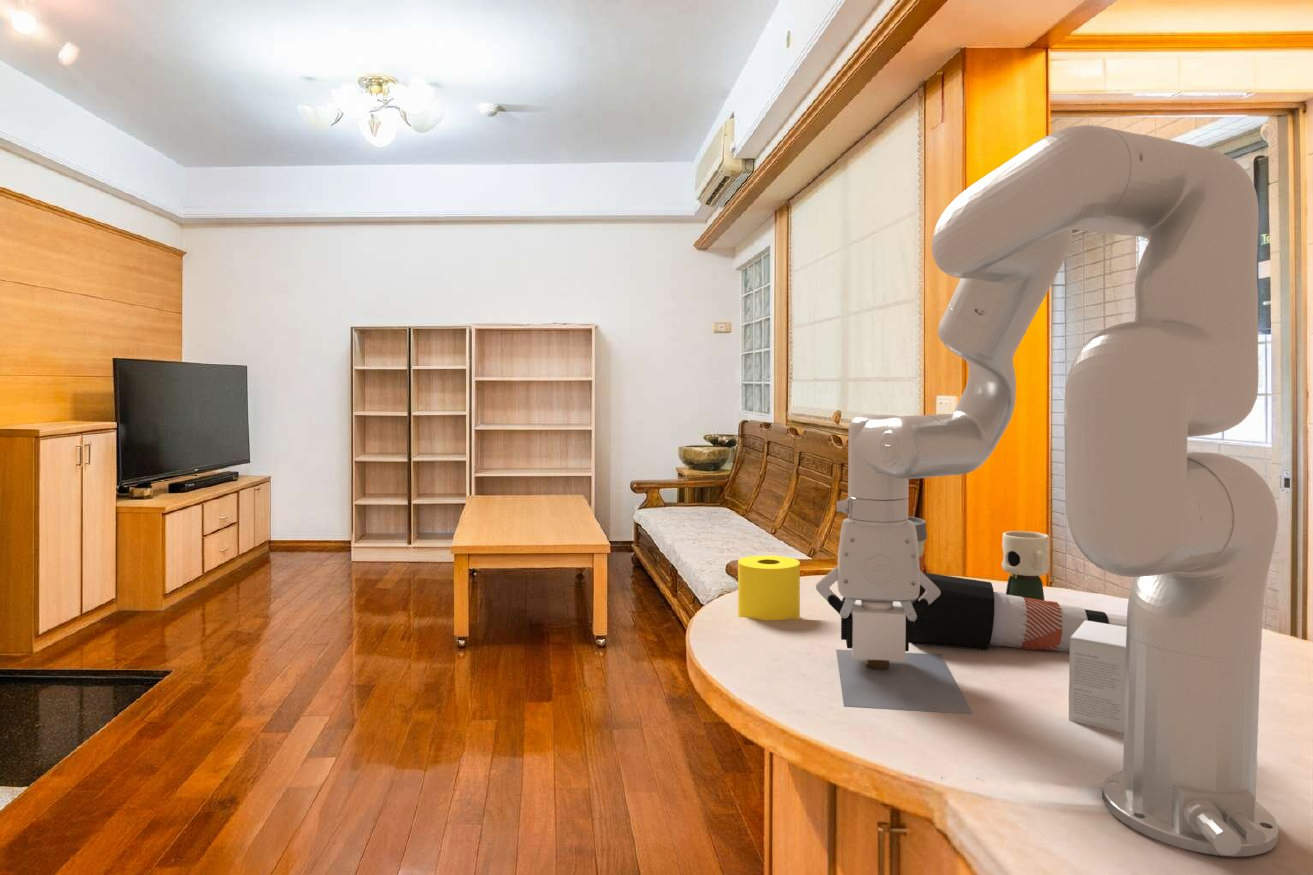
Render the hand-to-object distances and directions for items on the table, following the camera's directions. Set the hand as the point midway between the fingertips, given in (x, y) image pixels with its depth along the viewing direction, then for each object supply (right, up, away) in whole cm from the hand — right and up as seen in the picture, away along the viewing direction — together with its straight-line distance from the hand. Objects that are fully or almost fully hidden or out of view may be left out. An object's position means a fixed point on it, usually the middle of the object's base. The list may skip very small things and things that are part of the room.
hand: (876, 645), depth 102 cm
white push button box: (0, -1, 0) cm, 1 cm away
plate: (+1, -4, -4) cm, 6 cm away
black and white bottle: (+25, -4, +8) cm, 26 cm away
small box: (+21, -5, -16) cm, 26 cm away
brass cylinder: (0, -3, 0) cm, 3 cm away
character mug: (+33, -2, +29) cm, 44 cm away
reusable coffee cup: (+11, -2, +33) cm, 35 cm away
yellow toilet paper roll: (-10, -3, +26) cm, 28 cm away
